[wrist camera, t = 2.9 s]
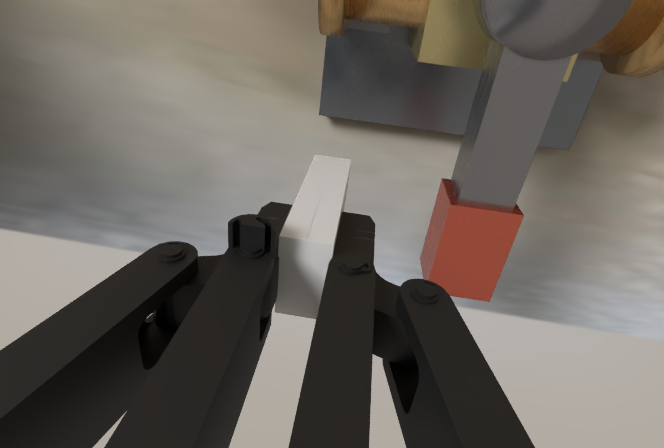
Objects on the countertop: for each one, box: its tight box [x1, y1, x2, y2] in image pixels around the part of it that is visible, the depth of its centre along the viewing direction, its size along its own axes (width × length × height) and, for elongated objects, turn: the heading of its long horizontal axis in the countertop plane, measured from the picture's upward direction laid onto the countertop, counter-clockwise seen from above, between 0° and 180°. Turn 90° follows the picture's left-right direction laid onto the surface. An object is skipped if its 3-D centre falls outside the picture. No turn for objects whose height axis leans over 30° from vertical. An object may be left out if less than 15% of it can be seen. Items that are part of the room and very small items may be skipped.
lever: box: [420, 0, 633, 302], centre depth 14 cm, size 13×4×2 cm, turn 174°
